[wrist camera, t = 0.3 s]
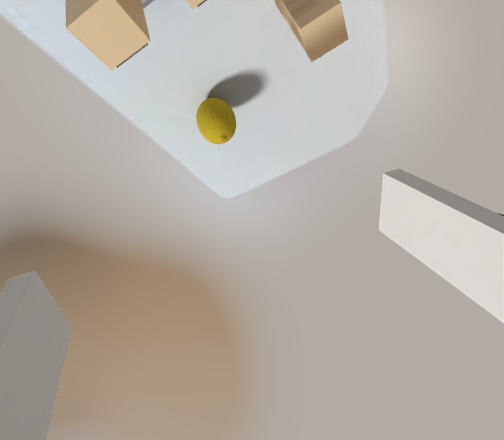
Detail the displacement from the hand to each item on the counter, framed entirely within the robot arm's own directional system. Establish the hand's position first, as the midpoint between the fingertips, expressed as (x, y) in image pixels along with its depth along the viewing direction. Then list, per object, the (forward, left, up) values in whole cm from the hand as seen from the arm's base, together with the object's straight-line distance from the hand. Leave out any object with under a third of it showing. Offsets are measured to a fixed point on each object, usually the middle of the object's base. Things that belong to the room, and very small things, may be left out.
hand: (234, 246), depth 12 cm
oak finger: (+12, +10, -34) cm, 38 cm away
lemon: (+21, -6, -34) cm, 41 cm away
